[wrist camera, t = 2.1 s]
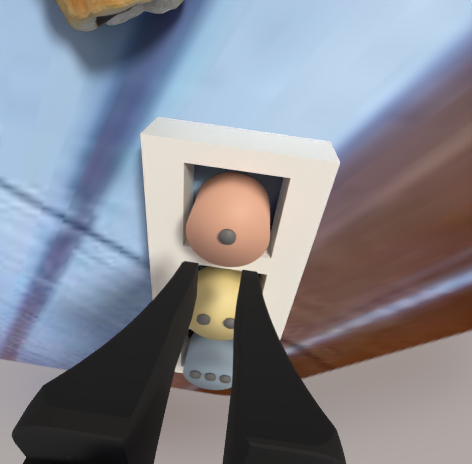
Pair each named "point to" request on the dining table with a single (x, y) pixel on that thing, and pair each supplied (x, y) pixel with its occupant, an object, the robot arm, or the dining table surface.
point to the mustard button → (216, 303)
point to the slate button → (209, 363)
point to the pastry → (109, 11)
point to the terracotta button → (230, 220)
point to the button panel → (242, 159)
